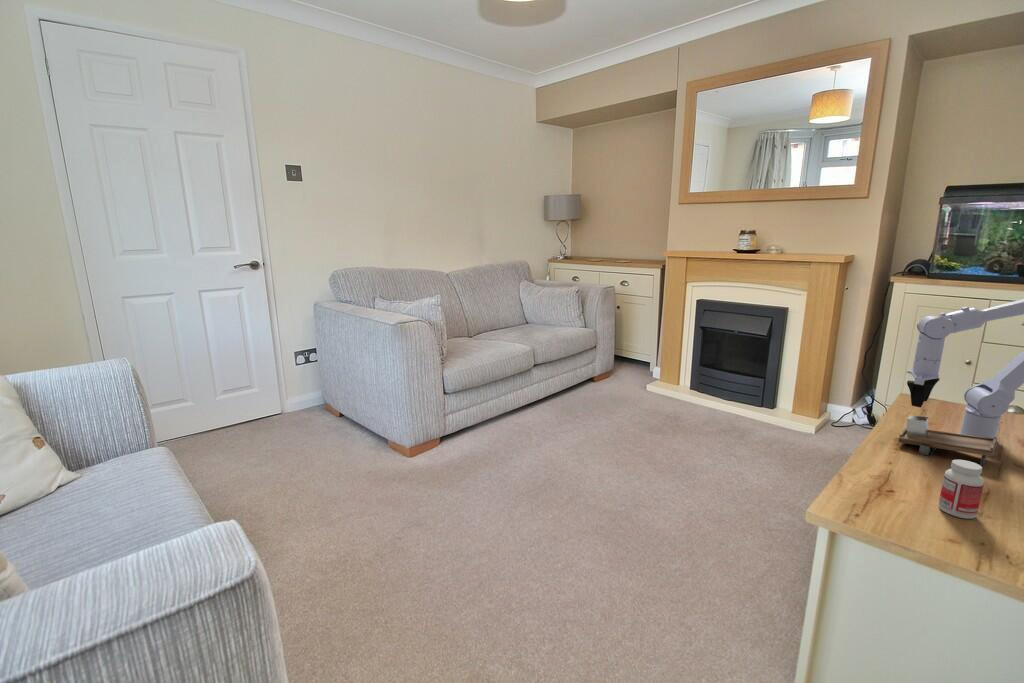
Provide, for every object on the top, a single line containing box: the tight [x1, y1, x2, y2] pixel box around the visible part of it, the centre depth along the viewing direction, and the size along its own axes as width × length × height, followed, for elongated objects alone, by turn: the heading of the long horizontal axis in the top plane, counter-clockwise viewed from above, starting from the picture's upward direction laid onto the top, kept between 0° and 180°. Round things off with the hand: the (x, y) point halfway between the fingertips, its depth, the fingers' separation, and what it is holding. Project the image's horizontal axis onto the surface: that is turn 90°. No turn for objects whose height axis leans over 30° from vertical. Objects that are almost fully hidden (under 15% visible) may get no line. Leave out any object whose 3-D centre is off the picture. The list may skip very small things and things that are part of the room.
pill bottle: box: [938, 459, 985, 520], centre depth 102 cm, size 6×6×11 cm
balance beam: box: [898, 426, 998, 457], centre depth 130 cm, size 11×18×2 cm, turn 41°
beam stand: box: [901, 443, 987, 467], centre depth 131 cm, size 14×17×3 cm
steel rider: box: [906, 415, 929, 439], centre depth 135 cm, size 4×4×5 cm
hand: (919, 403), depth 141 cm, fingers open, 7 cm apart
